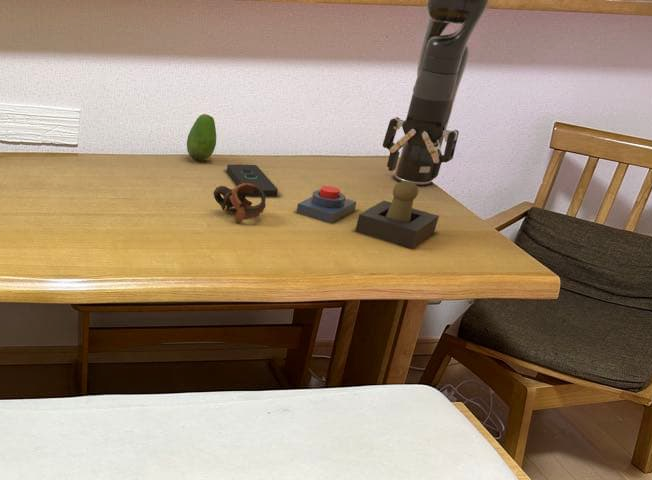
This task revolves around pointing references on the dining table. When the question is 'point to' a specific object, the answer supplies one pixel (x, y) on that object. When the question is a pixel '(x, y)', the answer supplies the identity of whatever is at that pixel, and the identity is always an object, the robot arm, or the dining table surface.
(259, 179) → the smart home device
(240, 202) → the brown looped knot
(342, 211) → the power block
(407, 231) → the socket
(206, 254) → the dining table surface
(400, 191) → the cork
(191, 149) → the avocado
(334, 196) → the power button
